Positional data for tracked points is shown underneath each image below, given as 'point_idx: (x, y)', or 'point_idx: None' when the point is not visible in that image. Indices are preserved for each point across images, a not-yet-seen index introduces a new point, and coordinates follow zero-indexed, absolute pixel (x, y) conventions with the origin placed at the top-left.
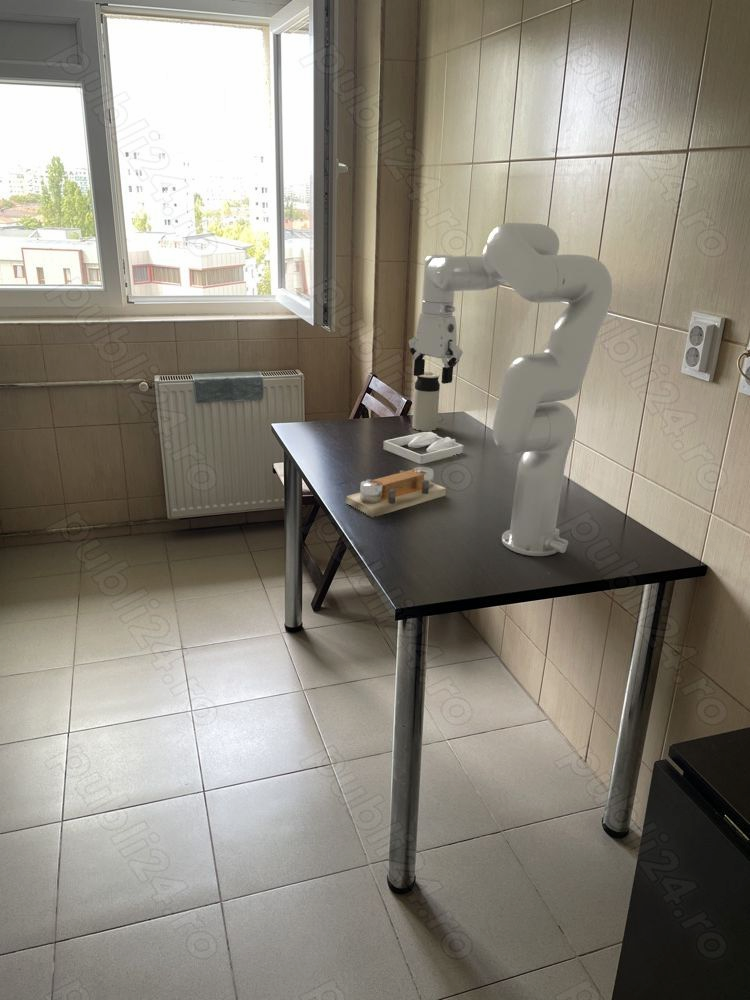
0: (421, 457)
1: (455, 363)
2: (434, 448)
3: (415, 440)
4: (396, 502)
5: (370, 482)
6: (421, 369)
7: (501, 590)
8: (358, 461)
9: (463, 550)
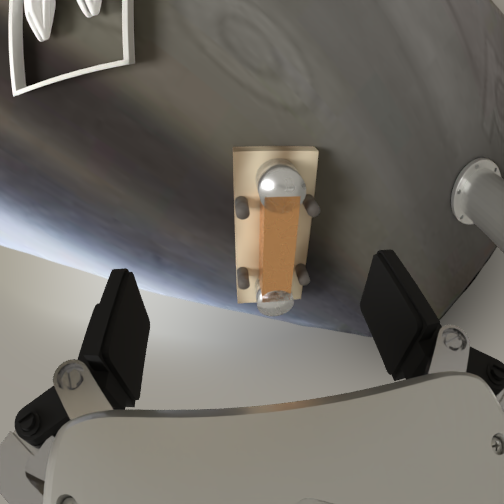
0: (130, 62)
1: (475, 360)
2: (99, 1)
3: (41, 25)
4: (305, 262)
5: (269, 302)
6: (131, 318)
7: (470, 278)
8: (66, 177)
9: (427, 258)
